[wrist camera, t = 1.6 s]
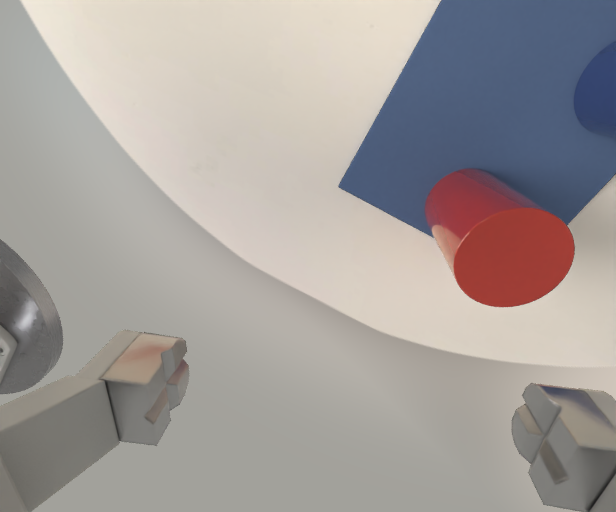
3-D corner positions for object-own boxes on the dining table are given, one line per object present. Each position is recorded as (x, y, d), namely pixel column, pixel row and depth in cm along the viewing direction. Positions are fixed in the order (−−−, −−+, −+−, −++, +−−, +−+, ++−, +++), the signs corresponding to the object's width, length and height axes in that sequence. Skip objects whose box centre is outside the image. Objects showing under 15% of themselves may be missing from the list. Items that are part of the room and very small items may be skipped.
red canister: (471, 254, 31) (518, 323, 22) (409, 221, 30) (431, 278, 21) (523, 191, 28) (603, 242, 19) (456, 153, 27) (504, 186, 18)
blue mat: (512, 278, 32) (514, 281, 31) (338, 185, 30) (338, 187, 29) (714, 64, 23) (719, 64, 23) (487, -83, 21) (489, -86, 21)
